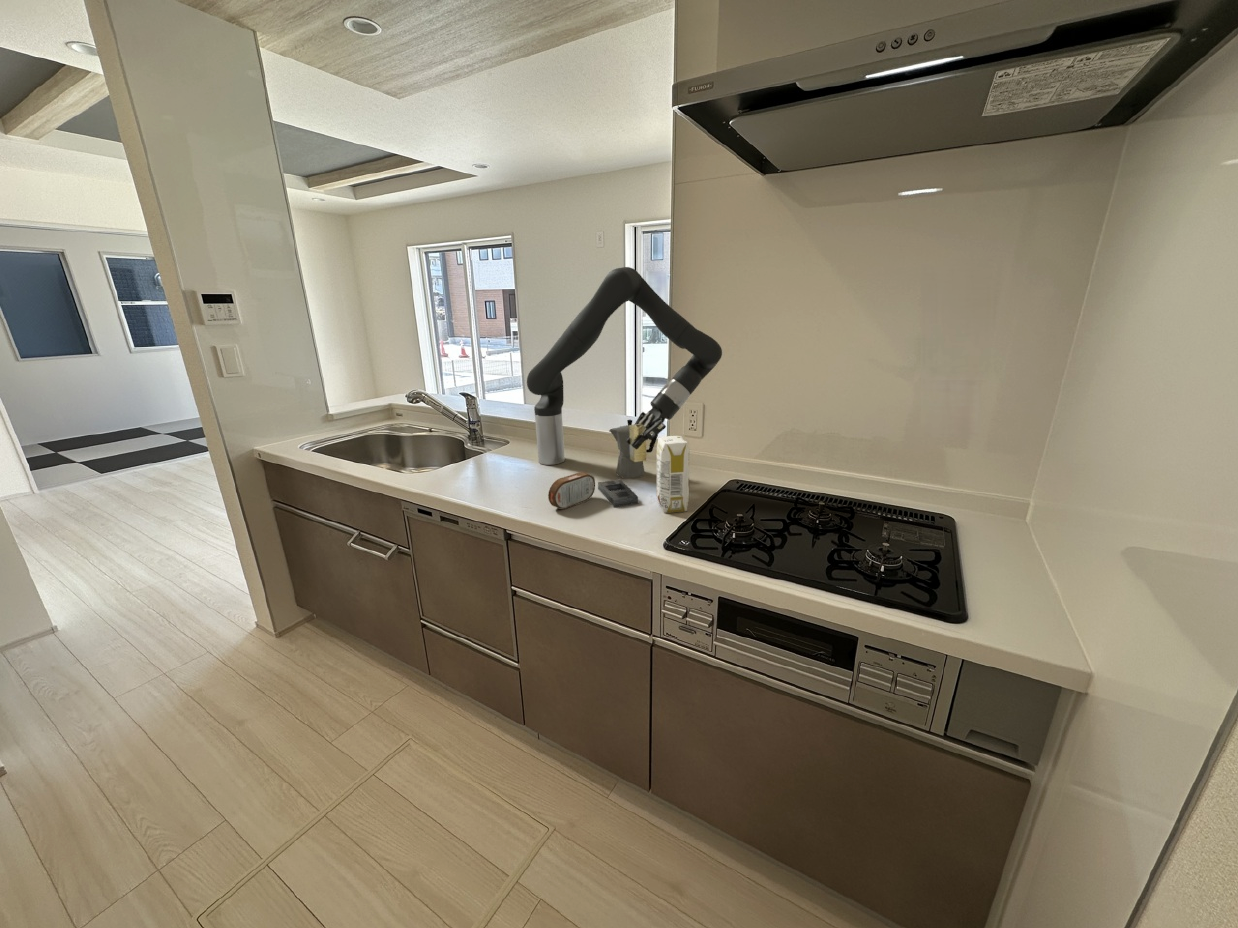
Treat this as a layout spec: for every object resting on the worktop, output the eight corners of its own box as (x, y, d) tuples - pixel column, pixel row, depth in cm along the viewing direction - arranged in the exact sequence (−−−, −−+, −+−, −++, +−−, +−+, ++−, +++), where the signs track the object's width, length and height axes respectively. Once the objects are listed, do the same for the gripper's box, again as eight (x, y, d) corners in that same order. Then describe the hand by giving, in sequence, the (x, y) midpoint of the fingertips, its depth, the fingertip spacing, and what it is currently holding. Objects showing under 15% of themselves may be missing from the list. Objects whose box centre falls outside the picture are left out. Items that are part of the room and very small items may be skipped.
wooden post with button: (629, 458, 141) (628, 424, 138) (642, 456, 142) (642, 423, 139) (633, 462, 138) (632, 427, 134) (647, 460, 139) (646, 426, 136)
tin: (590, 495, 140) (589, 467, 138) (597, 498, 138) (596, 470, 136) (548, 510, 130) (546, 481, 128) (555, 514, 128) (553, 484, 126)
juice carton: (662, 515, 126) (662, 444, 120) (654, 502, 134) (654, 436, 128) (690, 512, 127) (692, 442, 121) (681, 500, 135) (682, 434, 129)
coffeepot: (608, 478, 153) (606, 423, 147) (612, 468, 162) (610, 416, 156) (657, 479, 151) (657, 423, 146) (658, 469, 160) (658, 416, 154)
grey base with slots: (598, 488, 145) (597, 482, 144) (620, 485, 147) (620, 479, 146) (614, 507, 132) (614, 500, 131) (638, 503, 134) (638, 496, 133)
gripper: (651, 387, 142) (614, 431, 142) (672, 394, 130) (630, 444, 130) (668, 403, 146) (631, 447, 146) (690, 412, 133) (649, 460, 133)
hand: (631, 445), depth 138 cm, fingers closed on wooden post with button, 3 cm apart
